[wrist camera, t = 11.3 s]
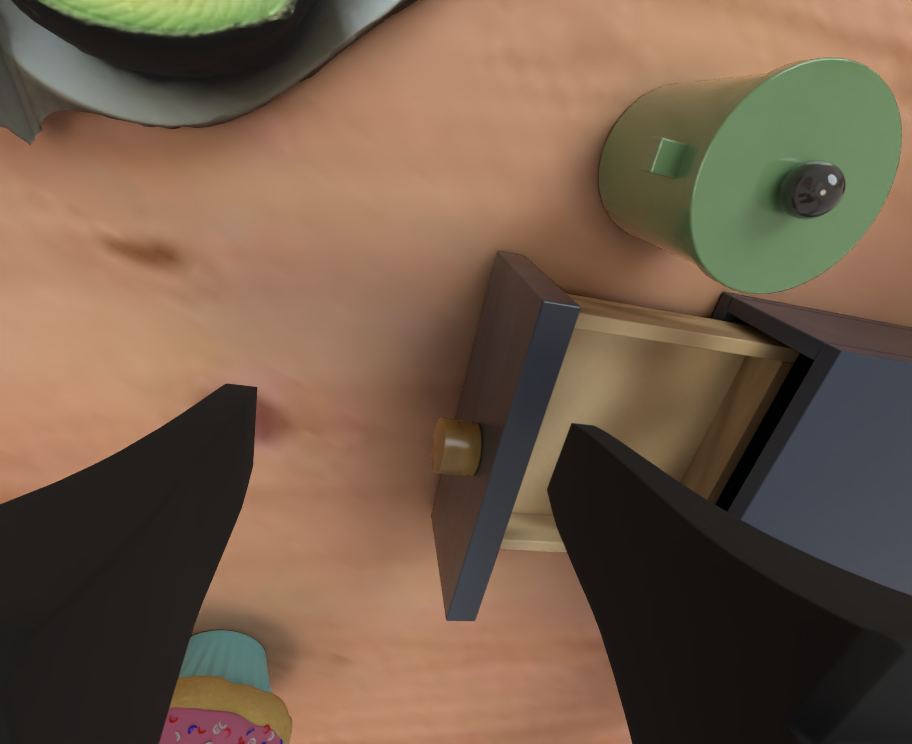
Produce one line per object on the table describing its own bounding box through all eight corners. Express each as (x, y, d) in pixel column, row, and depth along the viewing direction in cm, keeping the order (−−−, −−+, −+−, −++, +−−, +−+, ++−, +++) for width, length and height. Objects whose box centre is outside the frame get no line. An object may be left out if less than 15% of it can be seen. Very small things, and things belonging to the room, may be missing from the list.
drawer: (402, 513, 24) (410, 621, 19) (461, 243, 18) (494, 292, 13) (647, 528, 27) (711, 624, 22) (761, 300, 21) (882, 357, 16)
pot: (712, 258, 21) (877, 326, 14) (558, 225, 19) (659, 285, 12) (780, 103, 18) (1020, 95, 11) (609, 52, 17) (771, 7, 10)
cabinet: (616, 521, 27) (678, 624, 22) (722, 291, 21) (841, 350, 16) (791, 532, 30) (885, 626, 24) (926, 330, 24) (1088, 392, 19)
